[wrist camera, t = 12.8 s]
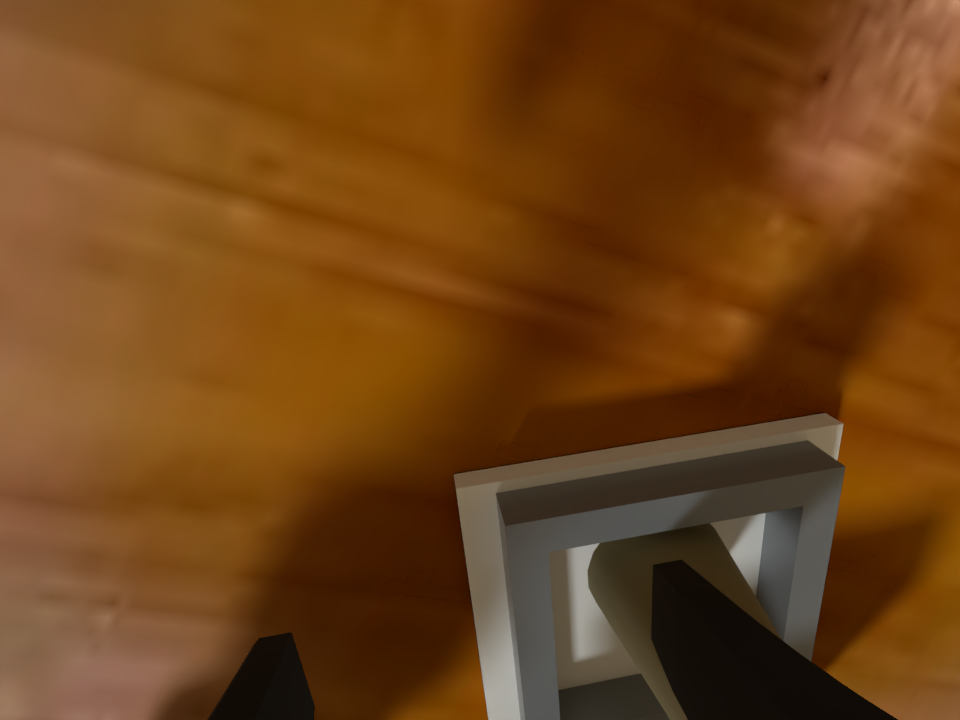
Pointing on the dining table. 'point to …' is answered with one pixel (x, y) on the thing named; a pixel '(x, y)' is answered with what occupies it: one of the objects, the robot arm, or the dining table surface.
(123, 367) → the dining table surface
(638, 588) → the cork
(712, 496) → the socket block
